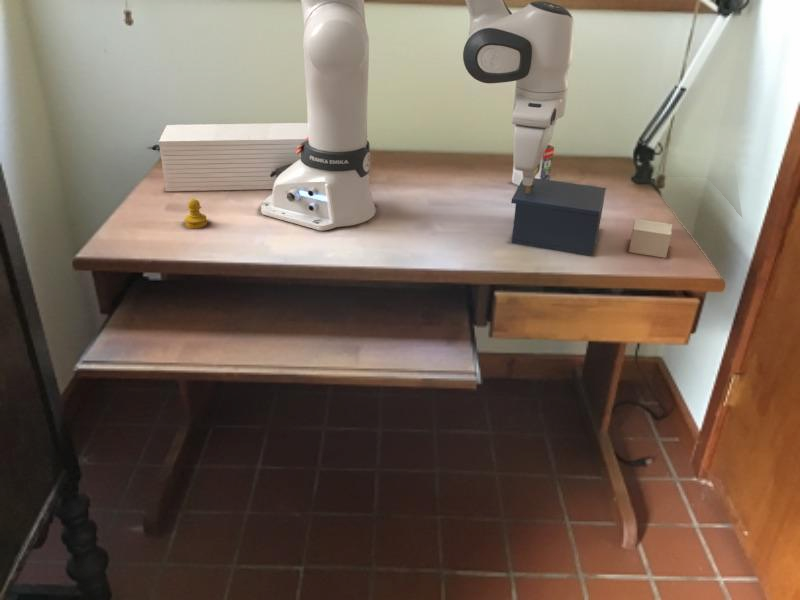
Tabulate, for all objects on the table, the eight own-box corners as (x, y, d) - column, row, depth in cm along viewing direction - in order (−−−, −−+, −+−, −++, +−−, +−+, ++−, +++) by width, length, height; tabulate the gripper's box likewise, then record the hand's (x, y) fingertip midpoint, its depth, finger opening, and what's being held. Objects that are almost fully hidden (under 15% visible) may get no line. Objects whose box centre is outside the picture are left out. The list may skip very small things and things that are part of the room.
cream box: (628, 252, 136) (633, 229, 134) (630, 241, 140) (634, 218, 137) (666, 258, 134) (671, 234, 132) (666, 246, 138) (672, 224, 136)
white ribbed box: (166, 191, 155) (158, 141, 150) (173, 172, 164) (166, 124, 159) (321, 188, 159) (319, 138, 153) (320, 169, 168) (318, 122, 162)
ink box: (522, 179, 165) (529, 114, 158) (549, 191, 160) (558, 123, 153) (510, 183, 163) (517, 117, 156) (538, 195, 158) (546, 127, 151)
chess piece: (211, 221, 143) (208, 197, 141) (199, 229, 140) (196, 205, 137) (193, 218, 144) (190, 194, 142) (181, 226, 141) (178, 201, 139)
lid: (511, 203, 134) (513, 178, 132) (523, 180, 144) (525, 157, 141) (598, 215, 130) (603, 191, 128) (605, 191, 140) (609, 168, 137)
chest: (511, 243, 138) (515, 203, 134) (523, 218, 148) (527, 181, 144) (592, 256, 134) (598, 216, 130) (598, 230, 144) (605, 192, 140)
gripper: (532, 86, 139) (524, 157, 146) (510, 116, 123) (502, 195, 130) (566, 90, 138) (556, 162, 145) (548, 121, 121) (538, 201, 128)
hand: (530, 178), depth 137 cm, fingers closed on lid, 5 cm apart
